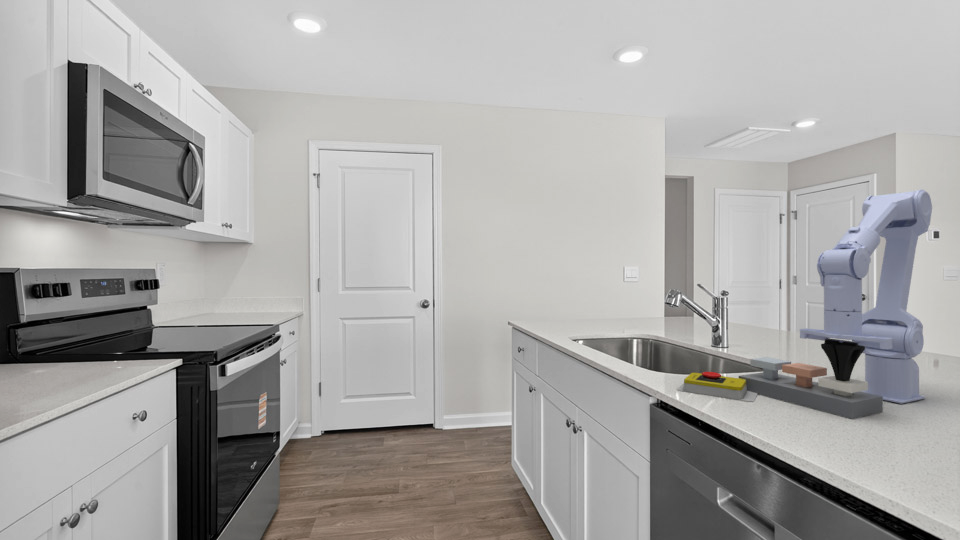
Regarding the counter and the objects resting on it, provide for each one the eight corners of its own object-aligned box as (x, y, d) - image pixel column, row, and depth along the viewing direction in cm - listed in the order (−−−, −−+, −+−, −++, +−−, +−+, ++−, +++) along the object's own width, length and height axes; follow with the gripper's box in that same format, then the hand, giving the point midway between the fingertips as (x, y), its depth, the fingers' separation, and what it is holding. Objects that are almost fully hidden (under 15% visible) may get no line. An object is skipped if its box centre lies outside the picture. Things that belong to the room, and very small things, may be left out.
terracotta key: (798, 383, 95) (798, 362, 95) (826, 389, 90) (826, 368, 90) (782, 385, 93) (782, 365, 93) (810, 392, 88) (810, 370, 88)
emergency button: (685, 366, 106) (758, 375, 96) (685, 384, 106) (758, 394, 96) (675, 373, 98) (753, 383, 89) (675, 392, 98) (753, 405, 89)
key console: (767, 384, 103) (767, 371, 103) (882, 412, 83) (882, 396, 83) (738, 388, 99) (738, 375, 99) (851, 419, 79) (851, 402, 79)
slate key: (766, 375, 101) (766, 357, 101) (791, 381, 96) (791, 361, 96) (750, 378, 99) (750, 358, 99) (775, 384, 94) (774, 363, 94)
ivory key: (835, 397, 88) (835, 375, 88) (868, 405, 83) (867, 382, 83) (818, 400, 86) (818, 378, 86) (851, 408, 81) (851, 385, 81)
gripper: (790, 308, 90) (790, 374, 90) (876, 314, 77) (876, 392, 77) (811, 307, 93) (811, 371, 93) (898, 313, 79) (898, 387, 79)
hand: (842, 380), depth 85 cm, fingers closed, pressing on ivory key
